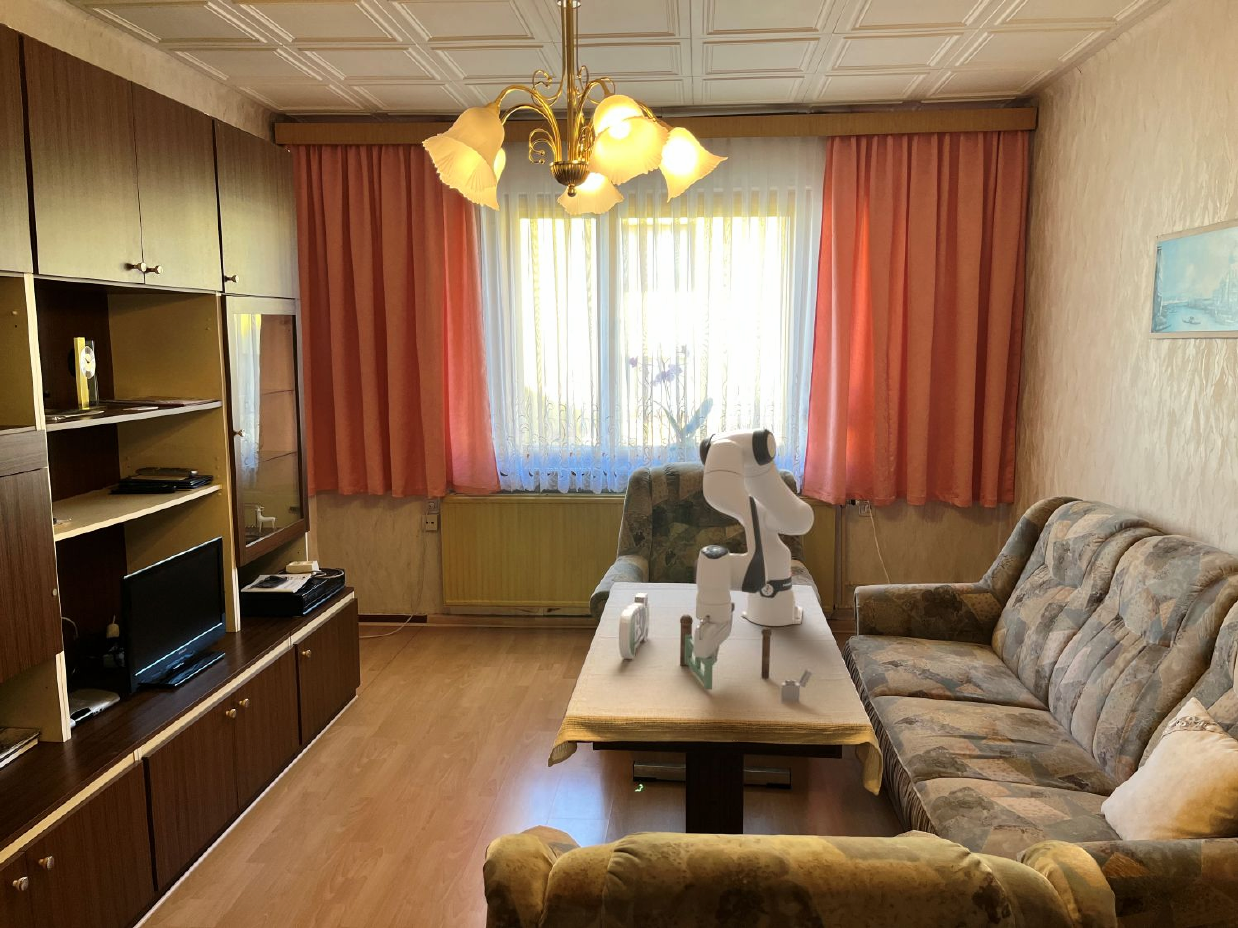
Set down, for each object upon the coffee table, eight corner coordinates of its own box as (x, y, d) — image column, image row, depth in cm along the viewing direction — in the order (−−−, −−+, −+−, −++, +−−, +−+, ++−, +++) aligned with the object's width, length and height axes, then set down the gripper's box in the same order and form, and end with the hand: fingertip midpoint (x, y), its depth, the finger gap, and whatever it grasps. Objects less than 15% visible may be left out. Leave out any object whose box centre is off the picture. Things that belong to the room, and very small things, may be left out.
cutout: (641, 590, 274) (619, 608, 250) (650, 591, 273) (629, 609, 249) (639, 640, 275) (617, 663, 251) (648, 641, 274) (627, 664, 250)
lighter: (782, 701, 227) (783, 670, 226) (781, 699, 228) (782, 667, 227) (811, 702, 226) (812, 671, 225) (810, 699, 228) (811, 668, 227)
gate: (690, 662, 250) (690, 633, 249) (712, 689, 232) (712, 658, 231) (684, 663, 250) (684, 634, 249) (705, 689, 231) (706, 658, 230)
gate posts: (681, 661, 254) (682, 612, 252) (771, 675, 244) (773, 624, 242) (677, 665, 251) (678, 615, 249) (768, 680, 241) (769, 628, 239)
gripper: (712, 624, 224) (711, 679, 226) (737, 601, 242) (735, 652, 244) (687, 620, 226) (686, 675, 228) (713, 598, 245) (712, 649, 247)
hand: (712, 663), depth 237 cm, fingers closed
